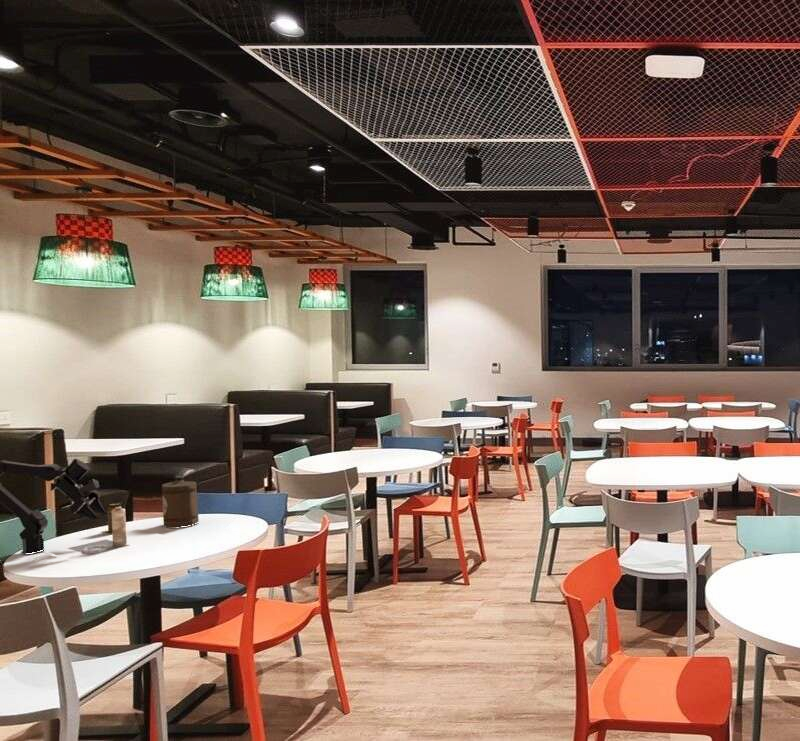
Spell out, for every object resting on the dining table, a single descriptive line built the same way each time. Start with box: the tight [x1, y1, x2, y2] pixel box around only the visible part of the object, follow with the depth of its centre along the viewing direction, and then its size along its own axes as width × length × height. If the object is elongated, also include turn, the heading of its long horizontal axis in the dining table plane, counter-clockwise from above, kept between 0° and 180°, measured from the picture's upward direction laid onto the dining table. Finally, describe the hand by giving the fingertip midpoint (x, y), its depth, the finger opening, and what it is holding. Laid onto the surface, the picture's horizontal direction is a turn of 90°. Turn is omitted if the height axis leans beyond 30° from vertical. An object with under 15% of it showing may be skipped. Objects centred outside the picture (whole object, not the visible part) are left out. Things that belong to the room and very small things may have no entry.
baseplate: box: [67, 538, 130, 555], centre depth 286 cm, size 16×18×2 cm
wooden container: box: [161, 474, 199, 528], centre depth 325 cm, size 15×15×22 cm
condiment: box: [101, 502, 122, 536], centre depth 315 cm, size 7×8×12 cm
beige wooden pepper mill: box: [111, 506, 128, 548], centre depth 286 cm, size 5×5×15 cm
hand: (101, 516), depth 286 cm, fingers open, 9 cm apart
